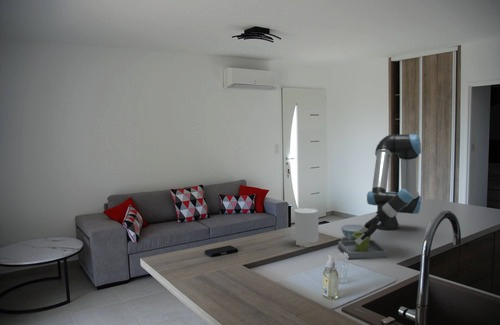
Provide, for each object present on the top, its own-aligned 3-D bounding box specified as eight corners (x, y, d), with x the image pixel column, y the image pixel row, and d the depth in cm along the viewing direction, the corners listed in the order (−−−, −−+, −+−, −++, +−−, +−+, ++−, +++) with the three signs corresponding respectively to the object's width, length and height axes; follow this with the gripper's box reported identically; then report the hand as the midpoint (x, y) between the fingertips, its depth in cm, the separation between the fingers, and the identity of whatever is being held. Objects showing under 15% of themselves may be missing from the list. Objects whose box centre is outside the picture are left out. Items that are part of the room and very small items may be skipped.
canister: (304, 249, 217) (303, 214, 214) (290, 242, 228) (290, 209, 226) (323, 245, 223) (322, 211, 221) (309, 239, 235) (308, 206, 233)
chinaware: (338, 242, 226) (338, 229, 225) (344, 235, 239) (344, 223, 239) (364, 245, 219) (364, 232, 218) (369, 238, 232) (369, 225, 232)
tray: (338, 247, 218) (338, 241, 218) (373, 245, 219) (373, 239, 218) (348, 259, 198) (348, 252, 198) (386, 257, 199) (386, 251, 198)
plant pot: (371, 253, 203) (371, 237, 202) (353, 252, 205) (353, 237, 204) (369, 248, 212) (370, 232, 211) (352, 247, 214) (352, 232, 213)
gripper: (393, 224, 190) (362, 251, 196) (390, 212, 214) (362, 237, 220) (382, 213, 191) (351, 240, 197) (380, 202, 215) (352, 227, 221)
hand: (357, 239), depth 208 cm, fingers open, 13 cm apart
